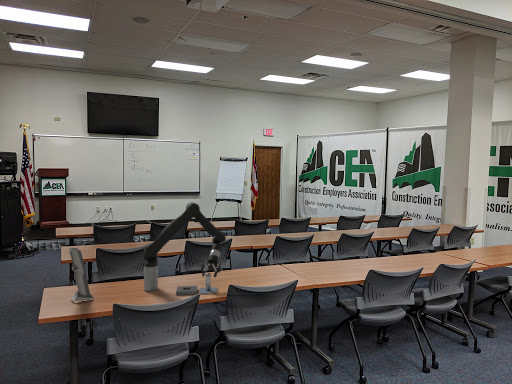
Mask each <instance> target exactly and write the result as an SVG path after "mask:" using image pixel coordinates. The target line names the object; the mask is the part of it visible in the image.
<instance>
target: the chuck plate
mask: <svg viewBox="0 0 512 384" xmlns="http://www.w3.org/2000/svg"><path fill="white" fill-rule="evenodd" d="M196 294H197V295H198V285H187V286H186V285H183V286H179V285H178V286H177V288H176V291H175V296H195V295H196Z"/></svg>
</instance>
